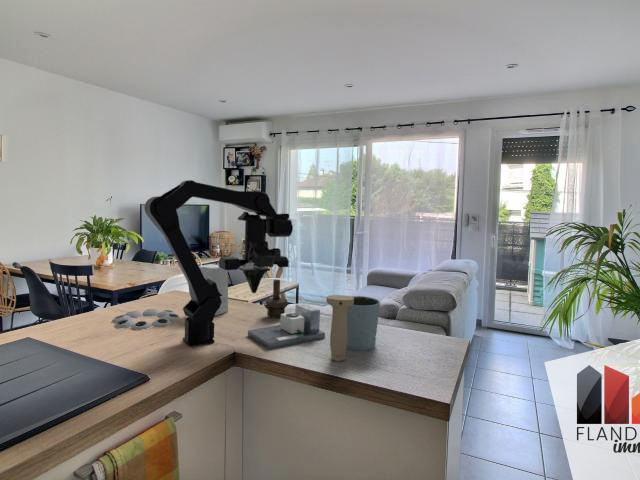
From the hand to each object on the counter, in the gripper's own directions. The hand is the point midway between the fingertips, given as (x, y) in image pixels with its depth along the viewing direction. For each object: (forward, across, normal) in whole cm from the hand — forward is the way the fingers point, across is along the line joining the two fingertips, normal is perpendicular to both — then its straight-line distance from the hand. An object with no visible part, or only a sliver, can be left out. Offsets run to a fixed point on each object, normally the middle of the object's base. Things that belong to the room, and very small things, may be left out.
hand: (253, 292), depth 110 cm
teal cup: (+12, +21, -22) cm, 32 cm away
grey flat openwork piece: (+12, -24, +25) cm, 37 cm away
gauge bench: (+11, +7, -7) cm, 15 cm away
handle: (+12, +10, -27) cm, 31 cm away
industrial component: (+12, +13, +13) cm, 21 cm away
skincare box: (+12, -4, +25) cm, 28 cm away
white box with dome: (+10, +9, -8) cm, 16 cm away
